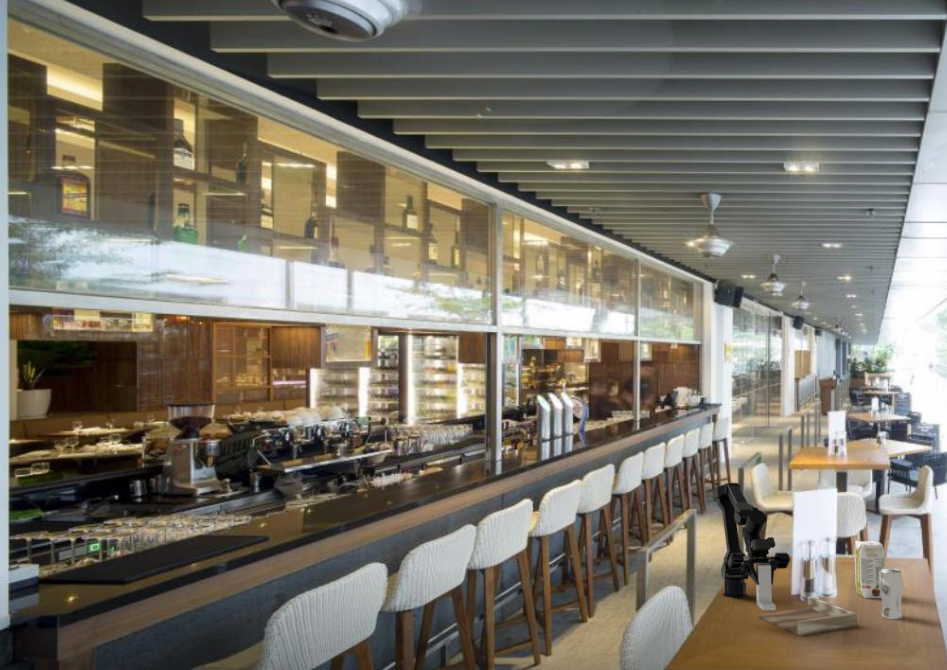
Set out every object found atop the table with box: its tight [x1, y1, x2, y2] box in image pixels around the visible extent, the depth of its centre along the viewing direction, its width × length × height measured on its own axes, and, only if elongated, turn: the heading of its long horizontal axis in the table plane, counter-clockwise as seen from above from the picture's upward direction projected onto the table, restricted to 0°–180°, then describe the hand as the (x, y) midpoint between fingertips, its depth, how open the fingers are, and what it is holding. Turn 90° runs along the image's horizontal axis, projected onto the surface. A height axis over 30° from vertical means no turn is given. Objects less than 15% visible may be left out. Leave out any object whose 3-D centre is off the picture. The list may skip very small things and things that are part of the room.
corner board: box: [756, 596, 858, 637], centre depth 266 cm, size 20×22×4 cm
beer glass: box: [879, 567, 904, 620], centre depth 269 cm, size 7×7×15 cm
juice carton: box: [854, 540, 886, 599], centre depth 292 cm, size 8×9×19 cm
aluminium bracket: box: [755, 563, 777, 611], centre depth 261 cm, size 6×4×13 cm, turn 178°
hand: (765, 584), depth 261 cm, fingers closed on aluminium bracket, 4 cm apart
